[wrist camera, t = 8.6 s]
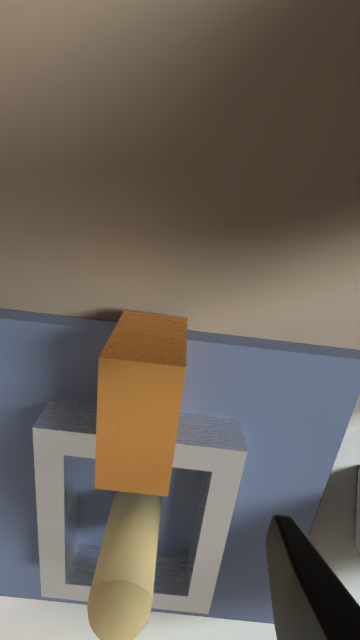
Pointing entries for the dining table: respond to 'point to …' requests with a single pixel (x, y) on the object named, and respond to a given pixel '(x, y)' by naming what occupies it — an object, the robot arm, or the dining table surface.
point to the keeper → (180, 506)
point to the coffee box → (358, 515)
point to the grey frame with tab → (136, 462)
